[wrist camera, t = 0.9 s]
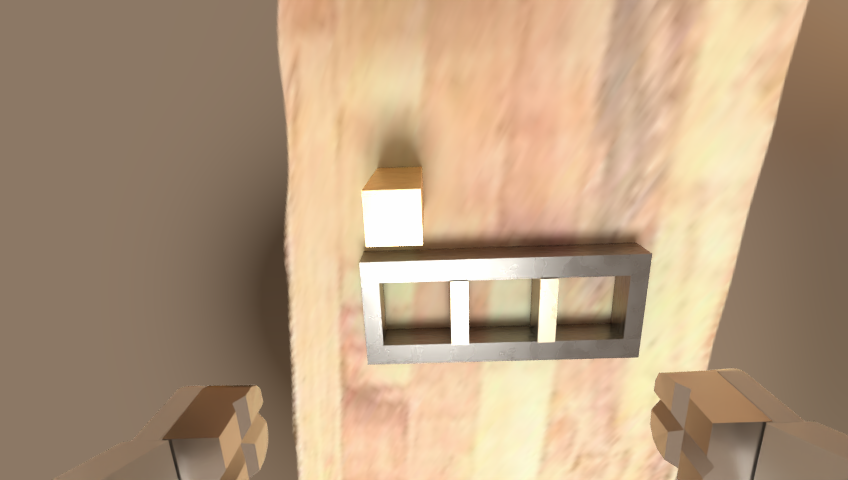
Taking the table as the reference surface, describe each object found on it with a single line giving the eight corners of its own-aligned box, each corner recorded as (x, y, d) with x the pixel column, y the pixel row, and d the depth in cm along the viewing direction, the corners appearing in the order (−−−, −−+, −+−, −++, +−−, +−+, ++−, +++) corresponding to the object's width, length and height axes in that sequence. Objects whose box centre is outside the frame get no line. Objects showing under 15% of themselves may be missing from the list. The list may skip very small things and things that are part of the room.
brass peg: (377, 168, 39) (361, 190, 30) (422, 166, 39) (420, 189, 29) (380, 211, 40) (365, 247, 31) (423, 210, 40) (422, 245, 31)
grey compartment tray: (364, 251, 41) (359, 263, 38) (636, 242, 41) (653, 254, 38) (371, 347, 45) (367, 365, 42) (624, 340, 44) (639, 358, 41)
